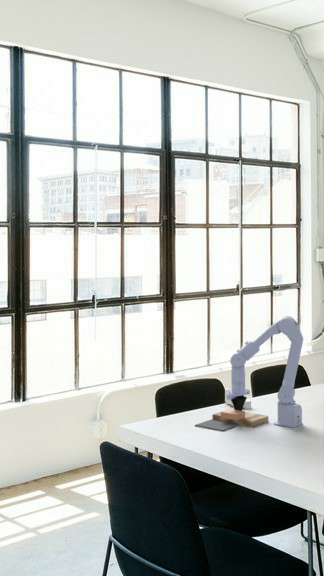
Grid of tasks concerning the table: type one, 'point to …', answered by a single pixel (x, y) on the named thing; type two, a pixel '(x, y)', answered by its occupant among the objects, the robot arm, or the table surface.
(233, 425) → the mat
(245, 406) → the bracket
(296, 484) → the table surface
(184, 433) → the table surface
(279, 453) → the table surface
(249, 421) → the board
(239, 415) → the block
